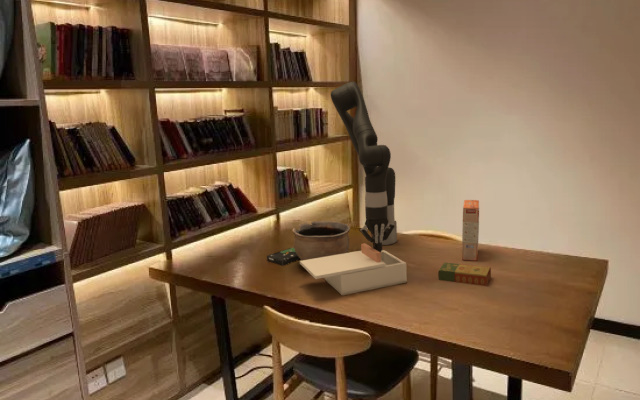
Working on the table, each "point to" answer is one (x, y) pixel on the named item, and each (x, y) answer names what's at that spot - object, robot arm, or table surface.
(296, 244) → the ceramic bowl
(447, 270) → the carton
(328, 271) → the lid
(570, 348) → the table surface
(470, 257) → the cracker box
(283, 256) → the disk drive
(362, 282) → the box
